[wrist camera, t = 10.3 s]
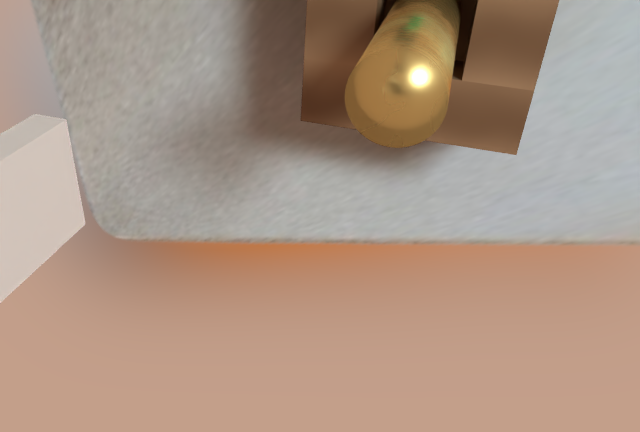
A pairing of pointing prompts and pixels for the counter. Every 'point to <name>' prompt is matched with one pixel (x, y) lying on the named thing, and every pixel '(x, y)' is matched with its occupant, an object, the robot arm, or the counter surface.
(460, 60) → the bore block
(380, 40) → the brass pin
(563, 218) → the counter surface
